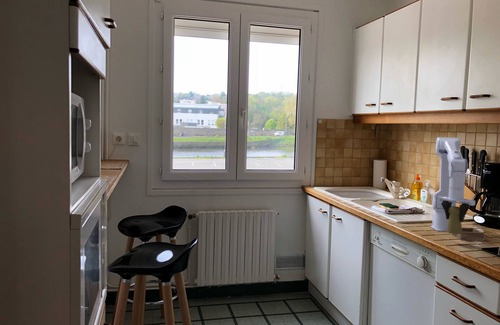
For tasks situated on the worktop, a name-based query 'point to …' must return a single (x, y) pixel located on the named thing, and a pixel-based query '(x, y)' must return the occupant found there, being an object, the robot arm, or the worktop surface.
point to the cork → (454, 221)
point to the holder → (470, 234)
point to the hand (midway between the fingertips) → (454, 220)
